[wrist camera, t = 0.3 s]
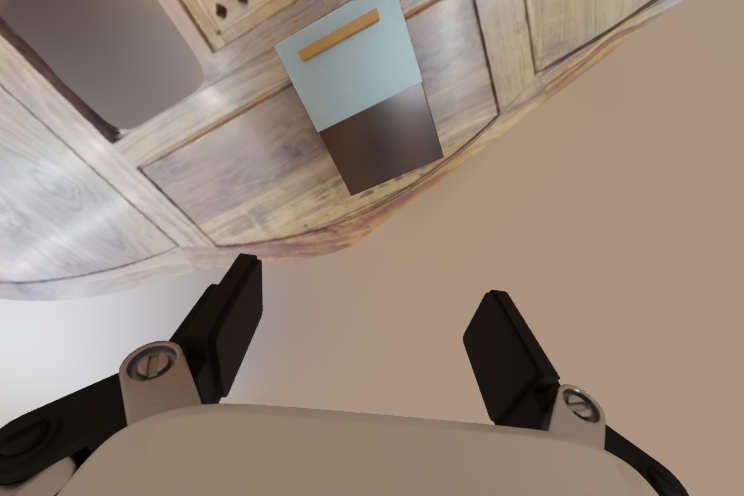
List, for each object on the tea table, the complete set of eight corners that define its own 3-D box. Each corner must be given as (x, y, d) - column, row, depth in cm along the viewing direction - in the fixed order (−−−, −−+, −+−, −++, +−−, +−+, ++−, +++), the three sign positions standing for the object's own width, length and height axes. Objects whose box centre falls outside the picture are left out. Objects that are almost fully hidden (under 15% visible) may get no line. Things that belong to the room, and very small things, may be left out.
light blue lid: (392, -22, 26) (394, -30, 24) (422, 81, 30) (426, 82, 28) (274, 45, 28) (267, 44, 26) (318, 131, 33) (314, 136, 31)
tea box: (386, 0, 34) (391, -21, 26) (429, 140, 43) (444, 157, 35) (296, 50, 37) (275, 46, 29) (354, 173, 45) (351, 196, 37)
